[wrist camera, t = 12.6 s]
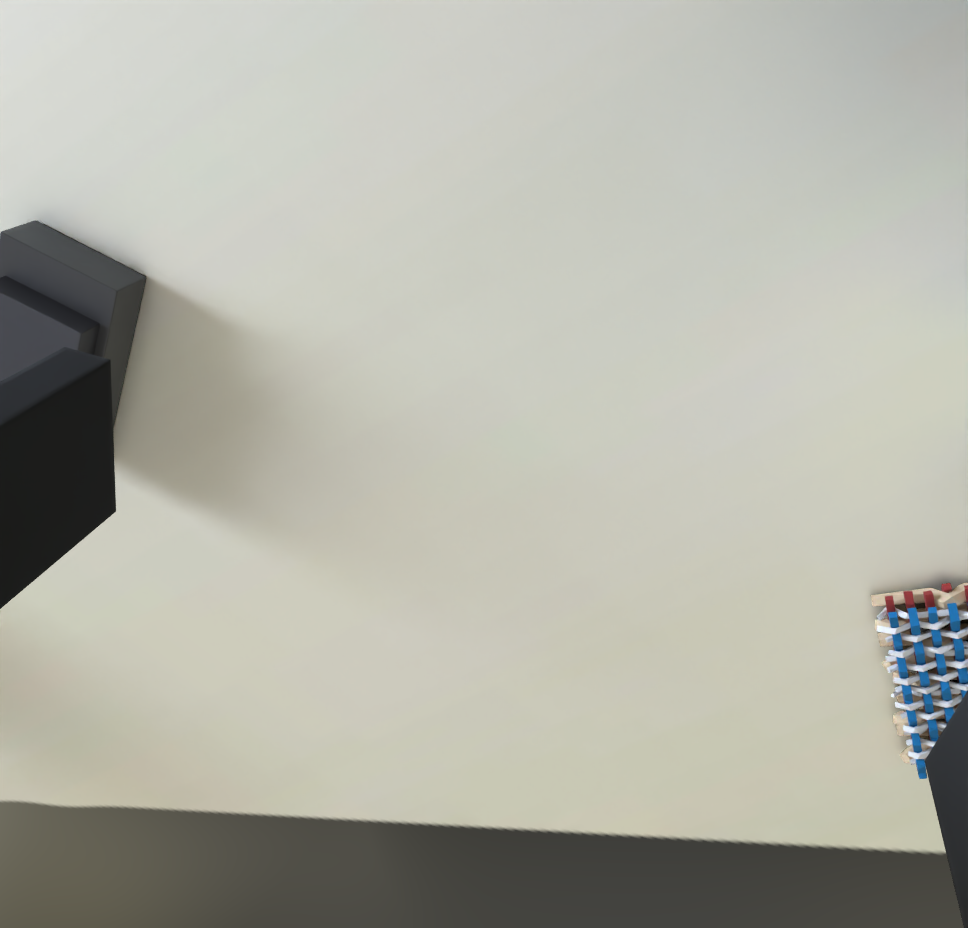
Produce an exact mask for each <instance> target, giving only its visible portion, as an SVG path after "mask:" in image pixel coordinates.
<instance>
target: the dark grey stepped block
mask: <svg viewBox="0 0 968 928" xmlns="http://www.w3.org/2000/svg"><path fill="white" fill-rule="evenodd" d="M145 281H146V277H145V276H143V275H142V274H140V273H138V272H136V271H134V270H132V269H130V268H128V267H126V266H124V265H122V264H120V263H118V262H116V261H114V260H112V259H110V258H108V257H106V256H104V255H102V254H100V253H98V252H96V251H94V250H92V249H90V248H88V247H86V246H85V245H83V244H81V243H79V242H77V241H75V240H73V239H71V238H69V237H67V236H65V235H63V234H61V233H59V232H57V231H55V230H53V229H51V228H49V227H47V226H45V225H43V224H41V223H39V222H37V221H32V222H29V223H26V224H23V225H20V226H17V227H14V228H11V229H8V230H5V231H2V232H1V233H0V381H2V380H4V379H6V378H7V377H9V376H11V375H13V374H15V373H17V372H19V371H20V370H22V369H24V368H26V367H28V366H30V365H32V364H33V363H35V362H37V361H39V360H41V359H43V358H45V357H47V356H48V355H50V354H52V353H54V352H56V351H58V350H60V349H61V348H63V347H67V348H71V349H74V350H78V351H81V352H85V353H88V354H92V355H95V356H99V357H102V358H106V359H109V360H111V386H112V415H113V426H114V422H115V417H116V413H117V408H118V404H119V399H120V395H121V390H122V385H123V381H124V376H125V372H126V367H127V363H128V358H129V354H130V349H131V344H132V340H133V335H134V331H135V326H136V322H137V317H138V313H139V308H140V303H141V299H142V294H143V290H144V285H145Z"/></svg>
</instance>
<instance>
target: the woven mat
mask: <svg viewBox="0 0 968 928" xmlns="http://www.w3.org/2000/svg"><path fill="white" fill-rule="evenodd" d="M941 589H942V591H939V590H936V589H933V588H924V589H916V590H908V591H900V592H892V593H884V594H877V595H871V600H872V605H873V606H886V607H885V608H884V609H883V610H882V611H881V613H880V614H879V615H878V616H877V619H876V620H875V630H877V631H878V632H882V633H878V637H879V643H880V646H893V647H894V651H893V650H889V652H888V654H889V655H890V656H885V657H886V660H884V661H883V662H882V663H881V664H882V665H883V666H884V668H885V669H886V670H887V672H889V673H891V672H893V683H894V684H898V685H900V686H898V687H896V688H895V692H894V693H893V694H892V695H891V696H892V697H894V698H895V697H897V700H898V702H895V707H897V708H901V709H905V710H906V712H903V711H900V712H898V713H895V714H893V723H895V724H896V728H897V734H898V736H911V739H909V740H905V741H906V744H907V746H909V745H911V744H912V745H911V746H909V747H907V748H906V749H905V750H904V751H903V752H902V753H901V754H899V755H900V757H901V758H902V760H903V761H904V762H905V763H910V764H911V765H912V764H915V763H916V765H917V770H918V775H919V778H920V779H926V778H927V773H926V766H925V759H926V758H927V756H928V754H929V753H930V751H931V749H932V748H933V746H934V745H935V743H936V741H937V740H938V738H939V736H940V735H941V733H942V732H943V730H944V728H945V727H946V725H947V723H948V722H949V720H950V719H951V717H952V715H953V714H954V712H955V710H956V709H957V707H958V706H959V704H960V702H961V701H962V699H963V697H964V696H965V694H966V692H967V691H968V642H967V641H963V640H965V639H968V623H966V624H960V620H964V619H968V582H967V583H963V584H960V585H959V586H957V587H956V588H955V589H953V590H952V588H951V585H950V583H946V584H942V587H941ZM964 602H966V603H964ZM919 603H925V606H926V608H921V609H916V608H915V604H919ZM962 603H963V604H962ZM903 604H905V605H906V612H903V611H901V610H899V609H897V608H895V605H903ZM935 606H936V607H935ZM886 615H888V619H883V618H884V617H885V616H886ZM897 615H898V616H899V617H897ZM947 624H949V627H947V628H946V629H940V628H942V627H944V626H945V625H947ZM920 628H926V629H929V630H928V631H926V632H924V633H922V632H920ZM909 629H910V630H909ZM908 645H912V646H910V647H908V648H906V649H905V650H903V646H908ZM965 659H967V660H965ZM952 660H954V661H952ZM926 663H928V664H926ZM914 664H916V665H914ZM932 668H933V669H932ZM907 669H908V670H914V671H917V674H915V673H912V672H910V671H907ZM929 669H932V670H930V671H929V672H928V671H927V670H929ZM955 679H957V681H958V683H956V682H952V681H949V680H955ZM903 702H904V704H903ZM913 702H914V703H913ZM921 706H922V707H921ZM919 707H921V708H919ZM917 708H919V709H918V710H915V709H917ZM942 718H945V721H936V719H942ZM920 736H929V738H930V740H926V739H922V738H920Z"/></svg>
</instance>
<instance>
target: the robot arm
mask: <svg viewBox="0 0 968 928" xmlns="http://www.w3.org/2000/svg"><path fill="white" fill-rule="evenodd" d="M114 512H116V500H115V472H114V443H113V415H112V386H111V360H109V359H106V358H102V357H99V356H95V355H92V354H88V353H85V352H81V351H78V350H74V349H71V348H67V347H63V348H61V349H60V350H58V351H56V352H54V353H52V354H50V355H48V356H47V357H45V358H43V359H41V360H39V361H37V362H35V363H33V364H32V365H30V366H28V367H26V368H24V369H22V370H20V371H19V372H17V373H15V374H13V375H11V376H9V377H7V378H6V379H4V380H2V381H0V609H1V608H2V607H3V606H4V605H5V604H7V603H8V602H9V601H10V600H11V599H12V598H14V597H15V596H16V595H17V594H18V593H20V592H21V591H22V590H23V589H24V588H26V587H27V586H28V585H29V584H30V583H31V582H33V581H34V580H35V579H36V578H37V577H39V576H40V575H41V574H42V573H43V572H44V571H46V570H47V569H48V568H49V567H50V566H52V565H53V564H54V563H55V562H56V561H58V560H59V559H60V558H61V557H62V556H63V555H65V554H66V553H67V552H68V551H69V550H71V549H72V548H73V547H74V546H75V545H76V544H78V543H79V542H80V541H81V540H82V539H84V538H85V537H86V536H87V535H88V534H90V533H91V532H92V531H93V530H94V529H95V528H97V527H98V526H99V525H100V524H101V523H103V522H104V521H105V520H106V519H107V518H108V517H110V516H111V515H112V514H113V513H114ZM925 765H926V769H927V774H928V778H929V782H930V786H931V790H932V795H933V799H934V803H935V807H936V811H937V816H938V820H939V824H940V828H941V833H942V837H943V841H944V845H945V849H946V854H947V858H948V862H949V866H950V871H951V874H952V879H953V883H954V887H955V892H956V895H957V900H958V904H959V908H960V913H961V917H962V921H963V925H964V928H968V691H967V692H966V694H965V696H964V697H963V699H962V701H961V702H960V704H959V706H958V707H957V709H956V710H955V712H954V714H953V715H952V717H951V719H950V720H949V722H948V723H947V725H946V727H945V728H944V730H943V732H942V733H941V735H940V736H939V738H938V740H937V741H936V743H935V745H934V746H933V748H932V749H931V751H930V753H929V754H928V756H927V758H926V759H925Z"/></svg>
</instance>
